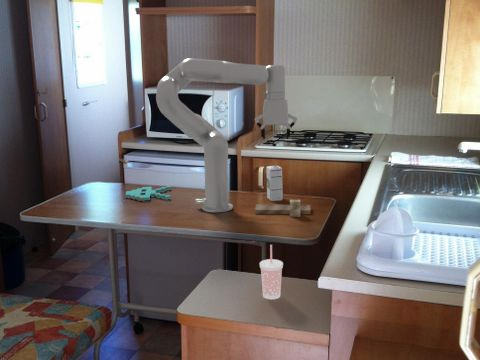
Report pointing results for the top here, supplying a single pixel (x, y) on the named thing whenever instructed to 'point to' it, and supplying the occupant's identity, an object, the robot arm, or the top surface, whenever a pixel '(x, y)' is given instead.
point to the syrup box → (274, 183)
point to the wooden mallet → (294, 208)
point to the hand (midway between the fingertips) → (275, 138)
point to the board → (279, 209)
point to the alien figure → (148, 193)
